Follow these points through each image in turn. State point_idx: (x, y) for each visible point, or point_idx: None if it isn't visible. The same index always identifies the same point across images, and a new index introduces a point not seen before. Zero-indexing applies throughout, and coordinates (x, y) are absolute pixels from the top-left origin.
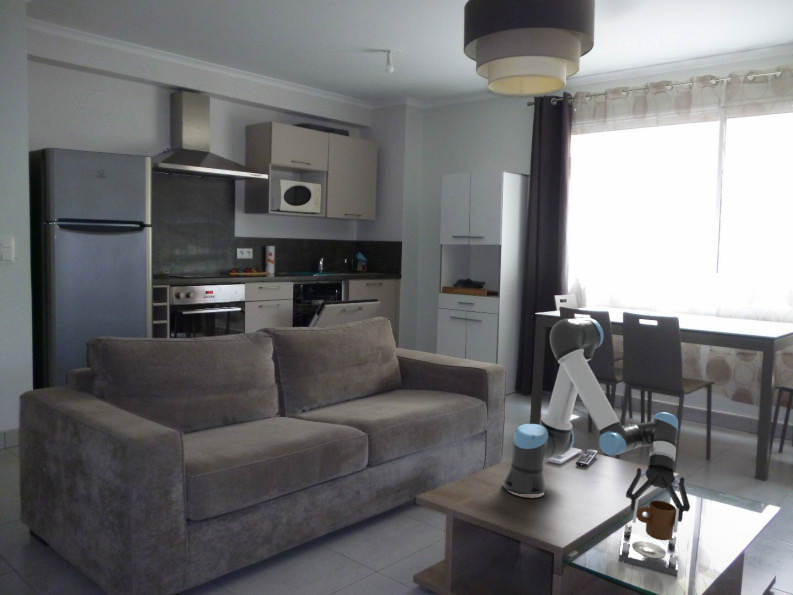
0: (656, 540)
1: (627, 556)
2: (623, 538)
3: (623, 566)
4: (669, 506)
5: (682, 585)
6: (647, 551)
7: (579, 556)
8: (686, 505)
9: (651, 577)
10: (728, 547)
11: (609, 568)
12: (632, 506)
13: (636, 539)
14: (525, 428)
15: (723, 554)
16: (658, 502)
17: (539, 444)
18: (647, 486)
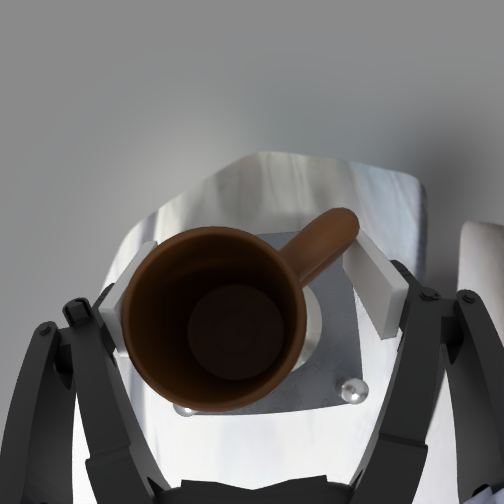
0: (246, 411)
1: None
2: (354, 349)
3: (320, 214)
4: (166, 385)
5: (169, 214)
6: None
7: (418, 199)
8: (48, 333)
9: (244, 203)
10: (75, 485)
11: (347, 184)
12: (396, 266)
13: (313, 373)
14: None
15: (77, 447)
16: (245, 397)
17: None
18: (385, 410)
